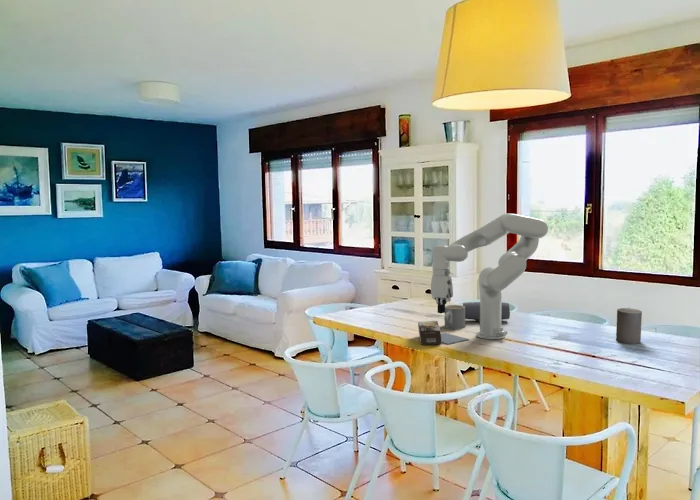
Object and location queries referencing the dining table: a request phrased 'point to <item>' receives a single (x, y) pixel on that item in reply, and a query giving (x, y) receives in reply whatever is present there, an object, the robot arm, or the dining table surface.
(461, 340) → the mat
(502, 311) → the bluetooth speaker
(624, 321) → the pillar candle
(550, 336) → the dining table surface
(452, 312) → the coffee mug
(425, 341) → the coffee box
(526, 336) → the dining table surface
